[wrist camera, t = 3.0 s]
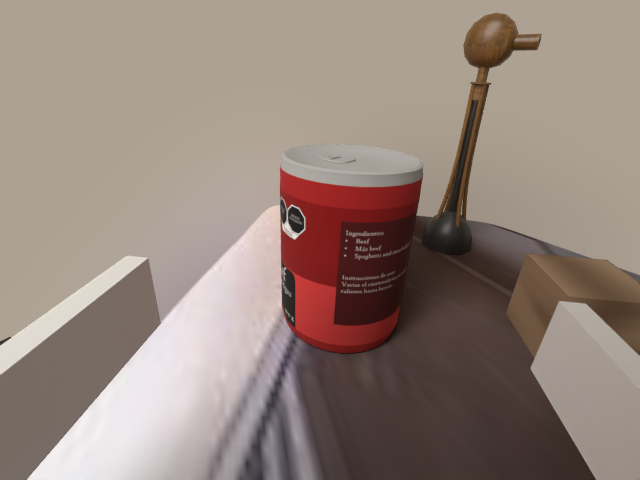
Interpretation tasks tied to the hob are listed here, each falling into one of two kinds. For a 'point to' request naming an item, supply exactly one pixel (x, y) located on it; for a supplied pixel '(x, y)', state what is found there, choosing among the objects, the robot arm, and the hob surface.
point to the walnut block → (573, 296)
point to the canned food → (346, 241)
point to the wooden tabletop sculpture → (473, 127)
